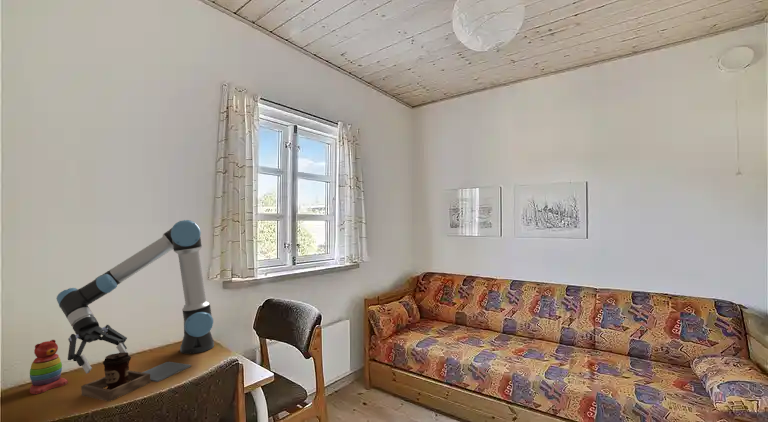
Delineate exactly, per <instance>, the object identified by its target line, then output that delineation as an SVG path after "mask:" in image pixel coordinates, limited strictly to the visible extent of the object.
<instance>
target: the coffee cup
mask: <svg viewBox="0 0 768 422" xmlns="http://www.w3.org/2000/svg"><path fill="white" fill-rule="evenodd" d="M127 352H128V351H127ZM127 352H123V353H120V352H118V353H111V354H108V355H107V356H104V357H105V358H104V360H103V361H102V364H103V367H104V377H106V383H107V385H108V386H107V388H106V389H109V390H111V389H114V388H116V387H118V386H120V385H123V384H125V383H127V382H128V380H127V378H128V371H129V370H130V362H131V358H132V356H131V355H130V354H129V352H128V353H127ZM128 354H129V355H128Z"/></svg>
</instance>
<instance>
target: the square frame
mask: <svg viewBox="0 0 768 422" xmlns="http://www.w3.org/2000/svg"><path fill="white" fill-rule="evenodd" d="M142 372H143V371H142ZM142 372H140V371H135V370H130V369H129V371H128V378H127V383H125V384H123V385H120V386H118V387H116V388H114V389H111V390H109V389H107V388H106V387H108V385H107V383H106V377H105V376H103V377H101V378H98V379H96V380H93V381H91V382H88V383H86V384H84V385H81V386H80V387H81V388H80V389H81V391H80V392H81V393H80V394H81V396H82V397H85V398H91V399H95V400H100V401H104V402H105V401H106V402H111V400H112V401H115V400H117V399H118V398H120V397H119V396H121V397H122V395H123V396H125V395H127V394H129V393H131V392H133V391H136V390H137V389H139V388H140V389H141V388H142V387H144V386H146V384H147V385H148V384H150V383H151V381H150V374H148V373H142ZM117 397H118V398H117Z"/></svg>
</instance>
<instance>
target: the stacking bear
mask: <svg viewBox="0 0 768 422" xmlns="http://www.w3.org/2000/svg"><path fill="white" fill-rule="evenodd" d="M33 350H34V352H33V353H34V355H35V357H36V358H34V360H33V361H32V362H31V364H30V365H31V366H30V370H29V379H30V381H31V384H32V385H31V386H30V387H29V393H30V394H31V395H39V394H42V393H44V392H47V391H48V390H52V389H54V388H60V387H63V386H65V385H67V384H68V382H69V381H68V380H67V379H66V378H64V377H61V374H62V371H63V370H62V369H63V364H62V363H63V362H62V361H61V357H60V356H59V354H58V350H59V346H58V343H56V340H55V339H51V340H48V341H43V342H41V343H36V344H35V345H34V349H33Z"/></svg>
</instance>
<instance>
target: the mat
mask: <svg viewBox="0 0 768 422" xmlns="http://www.w3.org/2000/svg"><path fill="white" fill-rule="evenodd" d="M191 367H192V364H189V363H181V362H175V361H174V362H173V361H165V362H164V363H161V364H158V365H156V366H154V367H152V368H150V369H147V370H145V371H142V373H148V374H150V382H155V383H159V382H161V381H162V380H163V381H164V380H165V379H168V378H169V377H171V376H173V375H175V374H178V373H179V372H182V371H185V370H186V369H188V368H191Z"/></svg>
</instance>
